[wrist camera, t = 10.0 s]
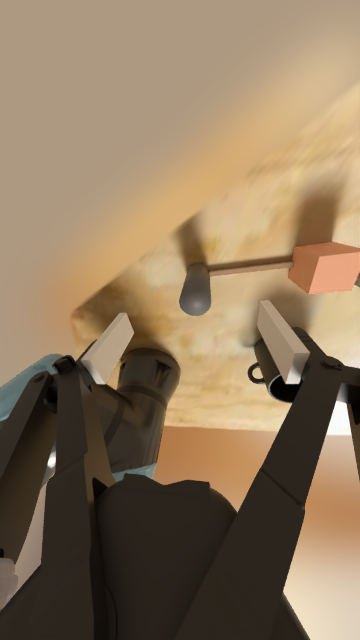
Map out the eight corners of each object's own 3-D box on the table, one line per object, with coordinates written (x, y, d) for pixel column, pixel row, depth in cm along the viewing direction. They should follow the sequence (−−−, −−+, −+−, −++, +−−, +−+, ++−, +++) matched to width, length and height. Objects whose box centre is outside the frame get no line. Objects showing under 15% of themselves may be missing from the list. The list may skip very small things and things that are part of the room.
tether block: (189, 287, 28) (182, 319, 20) (185, 261, 26) (176, 285, 17) (321, 274, 24) (381, 307, 16) (331, 241, 22) (408, 260, 14)
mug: (235, 343, 34) (243, 380, 26) (300, 321, 29) (332, 360, 22) (250, 370, 38) (261, 410, 30) (310, 355, 33) (340, 398, 25)
